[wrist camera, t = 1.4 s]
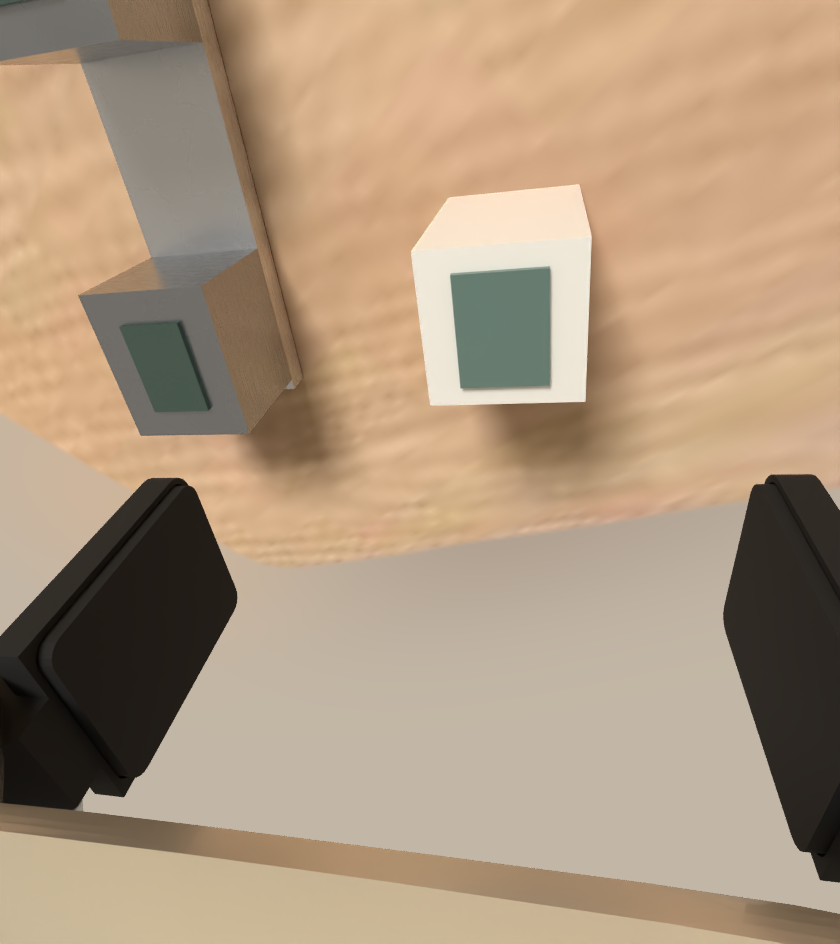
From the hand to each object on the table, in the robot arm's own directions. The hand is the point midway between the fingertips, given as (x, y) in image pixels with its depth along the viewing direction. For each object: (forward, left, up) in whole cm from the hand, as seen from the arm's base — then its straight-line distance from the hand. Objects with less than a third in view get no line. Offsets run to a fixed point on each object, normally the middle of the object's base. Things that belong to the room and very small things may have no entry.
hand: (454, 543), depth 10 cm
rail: (+13, -5, -18) cm, 22 cm away
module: (0, 0, -18) cm, 18 cm away
